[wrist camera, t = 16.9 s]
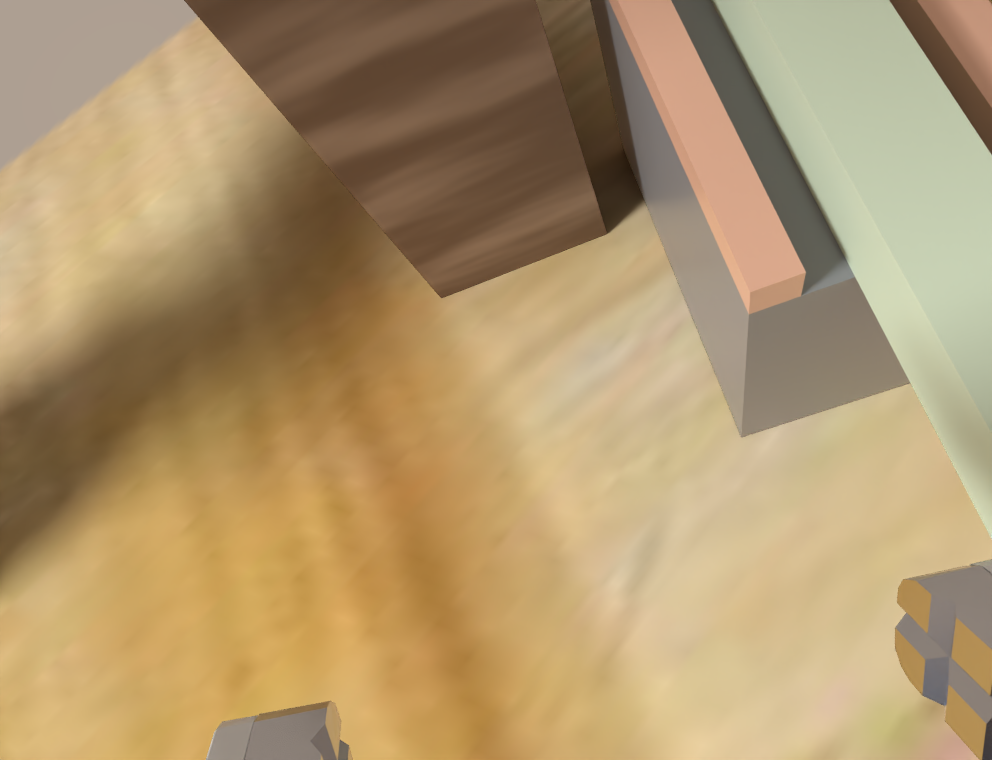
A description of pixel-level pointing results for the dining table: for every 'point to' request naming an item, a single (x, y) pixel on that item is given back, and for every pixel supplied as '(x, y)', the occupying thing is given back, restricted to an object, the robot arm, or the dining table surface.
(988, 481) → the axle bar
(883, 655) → the dining table surface
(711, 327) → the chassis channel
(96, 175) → the dining table surface
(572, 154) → the walnut stand
